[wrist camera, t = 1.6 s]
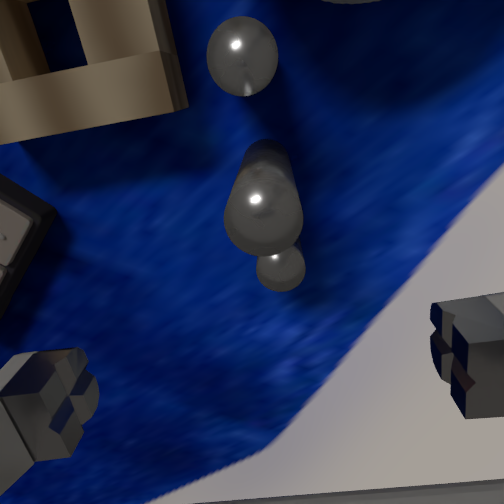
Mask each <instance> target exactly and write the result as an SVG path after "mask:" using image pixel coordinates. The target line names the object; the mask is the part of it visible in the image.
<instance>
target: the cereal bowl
mask: <svg viewBox="0 0 504 504" xmlns="http://www.w3.org/2000/svg"><path fill="white" fill-rule="evenodd" d="M322 1H329V2H332V3H340V4H345V3H348V4H356V3H358V4H361V3H370V2H373V1H380V0H322Z"/></svg>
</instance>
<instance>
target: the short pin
mask: <svg viewBox="0 0 504 504" xmlns="http://www.w3.org/2000/svg"><path fill="white" fill-rule="evenodd" d="M305 270H306V269H305V262H304V257H303V252H302V247H301V242H300V238H299V237H298V238H297V240H296V241H295V242H294V244H293V245H292V246H290V247H289V248H288V249H287V250H285V251H283V252H281V253H279V254H276V255H273V256H265V257H264V256H257V267H256V272H257V276H258V279H259V280H260V282H261V283H262V284H263V285H264V286H265V287H266V288H268V289H270V290H273V291H278V292H283V291H288V290H291V289H293V288H295V287H297V286H298V285H299V284H300V283H301V281H302V280H303V278H304V276H305Z"/></svg>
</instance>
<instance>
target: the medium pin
mask: <svg viewBox="0 0 504 504" xmlns="http://www.w3.org/2000/svg"><path fill="white" fill-rule="evenodd" d="M277 64H278V50H277V45H276V42H275V39H274V37H273V35H272V34H271V32H270V31H269V29H268V28H267V27H266V26H265V25H264V24H262V23H261V22H260V21H258V20H256V19H253V18H250V17H245V16H240V17H234V18H231V19H228V20H226V21H225V22H223V23H222V24H221V25H219V26H218V27H217V29H216V30H215V31H214V33H213V34H212V36H211V38H210V40H209V43H208V47H207V65H208V69H209V72H210V74H211V76H212V78H213V80H214V81H215V82H216V84H217V85H218V86H219V87H220V88H222V89H223V90H224V91H226V92H228V93H230V94H232V95H236V96H249V95H253V94H255V93H258V92H259V91H261V90H262V89H264V88H265V87H266V86H267V85H268V84H269V82H270V81H271V80H272V78H273V76H274V74H275V72H276V68H277Z"/></svg>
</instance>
